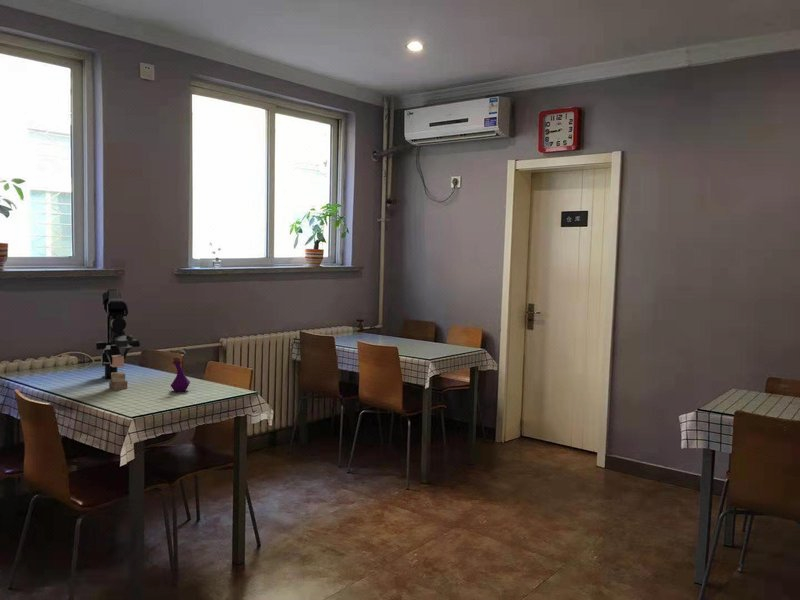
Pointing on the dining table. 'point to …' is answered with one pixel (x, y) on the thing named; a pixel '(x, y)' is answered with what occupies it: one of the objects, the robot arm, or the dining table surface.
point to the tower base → (117, 385)
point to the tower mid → (118, 377)
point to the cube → (117, 361)
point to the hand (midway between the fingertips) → (116, 363)
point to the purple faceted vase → (179, 377)
